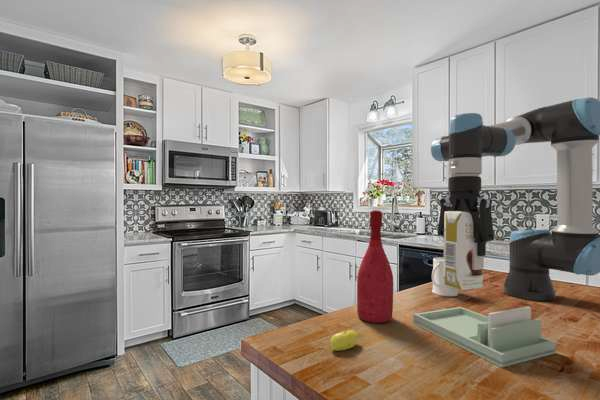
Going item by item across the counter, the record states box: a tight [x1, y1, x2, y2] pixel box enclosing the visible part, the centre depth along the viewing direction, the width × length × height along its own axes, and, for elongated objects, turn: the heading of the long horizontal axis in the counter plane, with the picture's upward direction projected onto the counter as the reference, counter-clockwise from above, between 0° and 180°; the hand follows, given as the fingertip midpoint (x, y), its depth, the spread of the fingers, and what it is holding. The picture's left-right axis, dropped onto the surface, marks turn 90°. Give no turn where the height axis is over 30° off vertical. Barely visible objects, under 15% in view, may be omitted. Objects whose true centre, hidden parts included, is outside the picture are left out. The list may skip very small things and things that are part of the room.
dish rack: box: [413, 306, 557, 368], centre depth 81 cm, size 17×25×9 cm
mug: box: [431, 257, 459, 297], centre depth 118 cm, size 12×8×12 cm
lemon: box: [329, 329, 360, 352], centre depth 74 cm, size 4×8×4 cm, turn 124°
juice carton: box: [443, 211, 484, 291], centre depth 84 cm, size 8×9×19 cm
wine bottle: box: [356, 209, 394, 324], centre depth 92 cm, size 10×10×30 cm
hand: (463, 265), depth 85 cm, fingers closed on juice carton, 8 cm apart
